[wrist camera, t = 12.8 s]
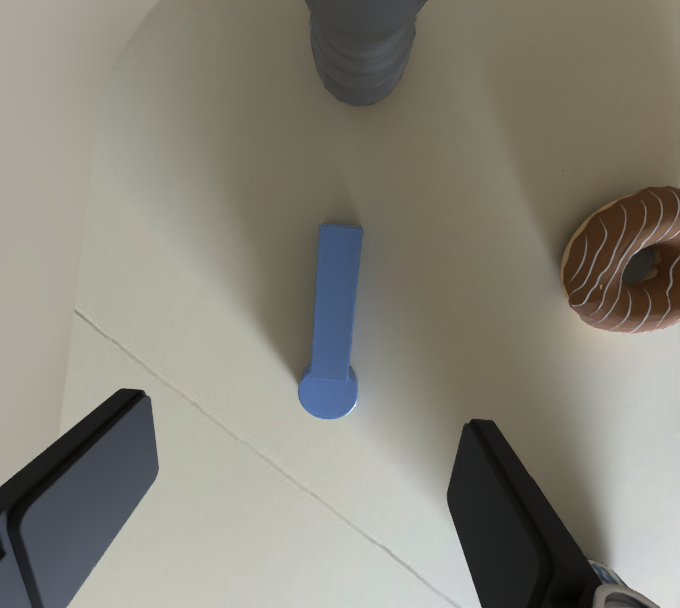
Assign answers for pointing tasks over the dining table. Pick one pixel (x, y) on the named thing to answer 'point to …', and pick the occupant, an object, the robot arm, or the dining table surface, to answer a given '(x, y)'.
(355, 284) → the spoon
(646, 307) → the donut
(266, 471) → the dining table surface
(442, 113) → the dining table surface
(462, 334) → the dining table surface
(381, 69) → the candle holder
